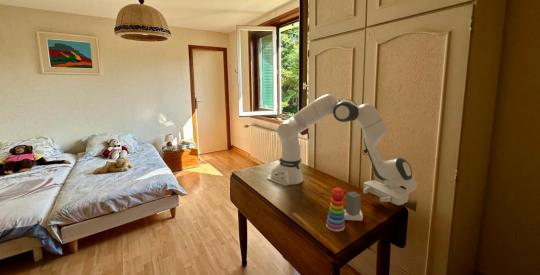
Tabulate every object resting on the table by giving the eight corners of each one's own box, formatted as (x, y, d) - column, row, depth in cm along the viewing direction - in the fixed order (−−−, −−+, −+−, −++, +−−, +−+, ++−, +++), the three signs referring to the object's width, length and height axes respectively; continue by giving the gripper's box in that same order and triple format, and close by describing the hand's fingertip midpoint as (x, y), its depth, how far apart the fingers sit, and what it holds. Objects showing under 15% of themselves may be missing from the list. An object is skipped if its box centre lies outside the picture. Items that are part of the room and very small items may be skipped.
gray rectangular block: (351, 213, 117) (353, 191, 114) (359, 218, 113) (360, 195, 110) (345, 215, 115) (346, 193, 112) (352, 220, 111) (354, 197, 108)
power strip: (336, 221, 113) (337, 214, 112) (335, 215, 117) (335, 208, 116) (362, 223, 111) (362, 215, 110) (359, 216, 116) (360, 209, 115)
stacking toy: (336, 236, 103) (338, 194, 98) (321, 227, 109) (323, 187, 104) (348, 229, 107) (351, 188, 102) (333, 220, 113) (335, 182, 109)
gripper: (375, 175, 132) (355, 181, 125) (412, 191, 114) (392, 198, 108) (374, 186, 133) (355, 193, 127) (410, 203, 116) (390, 211, 109)
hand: (372, 195), depth 117 cm, fingers open, 8 cm apart
